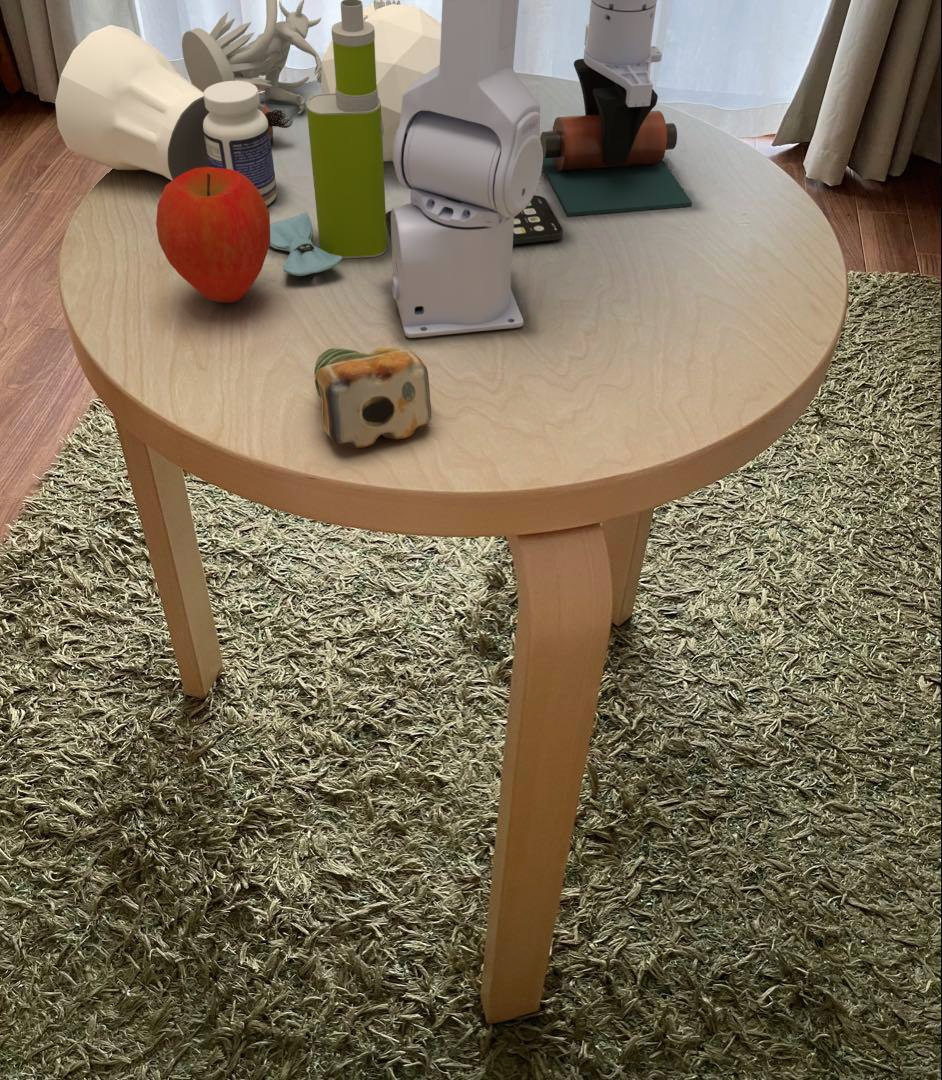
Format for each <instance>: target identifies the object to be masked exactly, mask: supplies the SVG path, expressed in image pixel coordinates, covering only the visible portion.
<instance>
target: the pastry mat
mask: <svg viewBox="0 0 942 1080" xmlns="http://www.w3.org/2000/svg"><path fill="white" fill-rule="evenodd" d="M542 170H543V172H544V174H545V176H546V178H547V181H548V182H549V183H550V186H551V188H552V190H553V191H554V193H555V195H556V197H557V200H558V201H559V203H560V205H561V207H562V209H563V210H564V212H565V215H566V216H567V217H577V216H589V215H599V214H613V213H624V212H625V213H626V212H636V211H637V212H638V211H648V210H649V211H650V210H661V209H673V208H686V207H692V205H693V201H692V200H691V199H690V197H689V196H688V195H687V193H686V192H685V190H684V189H683V187H682V186H681V185H680V183H679V181H678V180H677V178H676V177H675V175H673V173H672V172H671V169H670V168H669V167H668V165H667V164H666V163H665V162H664V159H663V160H662V161H661V162H660V163H658V164H645V165H631V166H618V167H604V168H590V169H576V170H563V171H559V170H558V169H557V168H556V166H555V162H554V158H545V159H544V158H543V164H542Z"/></svg>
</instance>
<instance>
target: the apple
mask: <svg viewBox="0 0 942 1080" xmlns="http://www.w3.org/2000/svg"><path fill="white" fill-rule="evenodd" d="M270 214H271V213H270V210H269V209H268V205H267V206H266V204H265V202H264V200H263V197H262V195H261V194H260V192H259V191H258V189H257V188H256V187H255V186H254V184H253V183H252V182H251V181H250V180H249V179H248V178H247V177H246V176H244V175H242V174H241V173H239V172H237V171H234V170H232V169H223V168H214V167H202V168H195V169H192V170H190V171H187V172H185V173H183V174H181V175H180V176H178V177H177V178H175V179H174V180H173V181H171V180H170V181H169V182H168V183H167V184H166V185H164V188H163V191H162V193H161V196H160V197H159V200H158V203H157V209H156V223H155V226H156V232H157V233H156V234H157V240H158V243H159V245H160V248H161V250H162V252H163V254H164V256H165V257H166V259H167V262H168V263H169V264H170V265H171V267H172V268H173V269H174V270H175V271H176V272H177V274H178V275H179V276H180V277H181V278H183V279H184V280H185V281H186V282H187V283H188V284H189V285H190V286H192V287H193V288H194V289H195V290H196V291H197V292H199V294H201V295H203V297H205V298H206V299H209V300H210V301H213V302H216V303H234V302H237V301H239V300H241V299H242V298H243V297H244V296H245V294H246V293H248V291H249V290H250V289H251V288H252V285H254V283H255V281H256V280H257V278H258V276H259V275H260V273H261V271H262V269H263V266H264V263H265V261H266V258H267V254H268V251H269V248H270V225H271V215H270Z"/></svg>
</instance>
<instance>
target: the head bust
mask: <svg viewBox="0 0 942 1080" xmlns="http://www.w3.org/2000/svg"><path fill="white" fill-rule="evenodd" d="M263 105H264V109H263V111H261V112H262V113H263V114H264V115H265V116H266V118H267V121H268V126H269V134H270V138H271V140H272V141H274V127H278V128H280V129H289V128H290V127H292V125H293V122H294V120H295V119H296V116H295V115H293V116H292V115H288V114H287V111H286V110H284V109H273V110H271V111H269V110H270V109H269V108H268V105H267V104H266V102H265V101H263ZM268 109H269V110H268Z"/></svg>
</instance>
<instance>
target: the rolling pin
mask: <svg viewBox="0 0 942 1080" xmlns="http://www.w3.org/2000/svg"><path fill="white" fill-rule="evenodd" d="M540 139H541V145H542V149H543V158H544V159H545V158H554V162H555V166H556V168H557V169H558V170H559V171H563V170H576V169H590V168H604V167H618V166H631V165H645V164H658V163H660V162H661V161H662V160H663V161H664V158H665V154H666V151H670V150H674V149H675V148H676V146H677V142H678V129H677V126H676V124H675V123H673V122H669V123H668V122H666V119H665V116H664V114H663V112H662V111H660V110H651V111H650V113H649V114H648V115H647V117H646V118H645V120H644V121H643V123H642V125H641V127H640V129H639V131H638V133H637V136H636V138H635V141H634V143H633V146H632V149H631V151H630V154H629V156H628V159H627V161H626V163H625V164H617V165H605V164H604V162H603V157H602V137H601V120H600V114H598V115H585V114H584V115H570V116H569V115H568V116H557V117H555V119H554V122H553V125H552V130H550V131H549V130H548V131H542V132H540Z"/></svg>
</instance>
